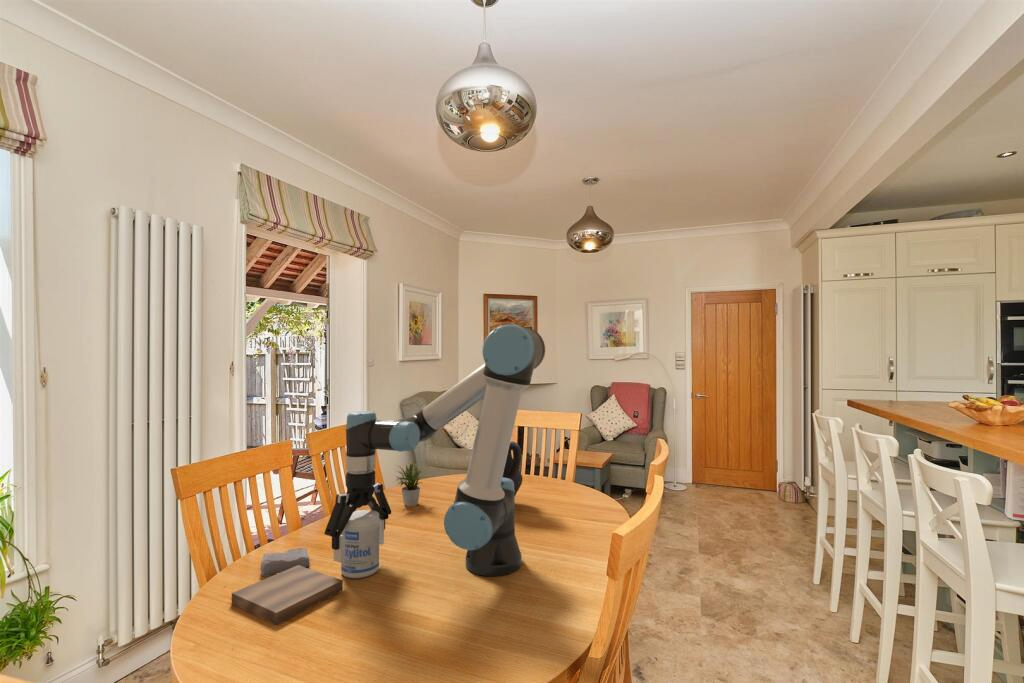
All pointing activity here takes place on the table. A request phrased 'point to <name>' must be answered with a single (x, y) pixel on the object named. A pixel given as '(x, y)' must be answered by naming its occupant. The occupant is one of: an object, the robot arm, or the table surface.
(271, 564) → the stone block
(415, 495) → the house plant
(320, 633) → the table surface
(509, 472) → the pitcher
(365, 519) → the supplement tub
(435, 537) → the table surface
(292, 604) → the walnut board
